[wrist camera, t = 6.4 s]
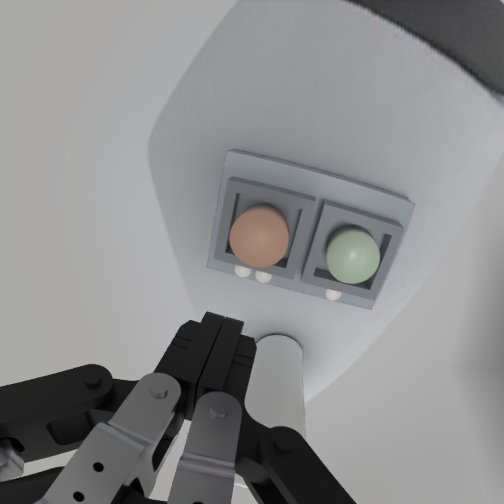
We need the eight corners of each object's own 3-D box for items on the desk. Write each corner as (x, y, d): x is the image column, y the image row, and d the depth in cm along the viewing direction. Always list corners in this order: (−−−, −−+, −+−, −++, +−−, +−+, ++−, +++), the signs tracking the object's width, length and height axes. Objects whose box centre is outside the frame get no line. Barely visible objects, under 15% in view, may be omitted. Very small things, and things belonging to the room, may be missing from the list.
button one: (334, 219, 22) (336, 227, 20) (382, 233, 21) (387, 242, 20) (319, 265, 23) (320, 276, 22) (364, 277, 23) (368, 288, 21)
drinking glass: (248, 369, 32) (216, 483, 19) (246, 323, 30) (205, 451, 16) (306, 374, 31) (296, 493, 18) (313, 328, 29) (308, 464, 15)
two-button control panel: (233, 149, 23) (221, 152, 20) (407, 198, 22) (421, 209, 19) (213, 257, 27) (201, 275, 24) (368, 298, 26) (374, 319, 23)
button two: (240, 199, 21) (235, 205, 19) (295, 213, 21) (294, 220, 19) (230, 249, 23) (225, 259, 21) (281, 262, 22) (279, 273, 21)
